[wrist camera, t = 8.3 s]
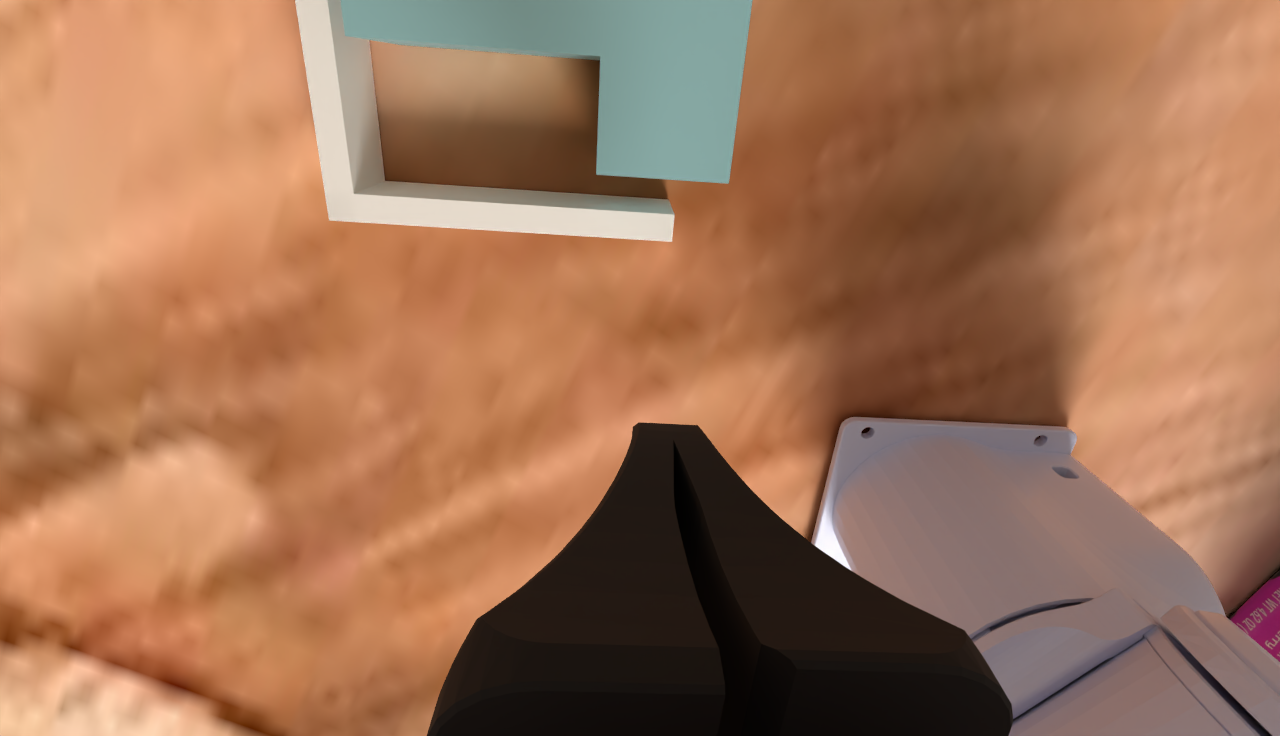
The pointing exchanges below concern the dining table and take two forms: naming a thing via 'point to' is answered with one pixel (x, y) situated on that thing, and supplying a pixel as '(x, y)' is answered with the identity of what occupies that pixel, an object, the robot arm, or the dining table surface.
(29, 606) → the dining table surface
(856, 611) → the robot arm
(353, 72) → the white u-shaped bracket
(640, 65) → the t block
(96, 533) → the dining table surface
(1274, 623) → the candy bar box
